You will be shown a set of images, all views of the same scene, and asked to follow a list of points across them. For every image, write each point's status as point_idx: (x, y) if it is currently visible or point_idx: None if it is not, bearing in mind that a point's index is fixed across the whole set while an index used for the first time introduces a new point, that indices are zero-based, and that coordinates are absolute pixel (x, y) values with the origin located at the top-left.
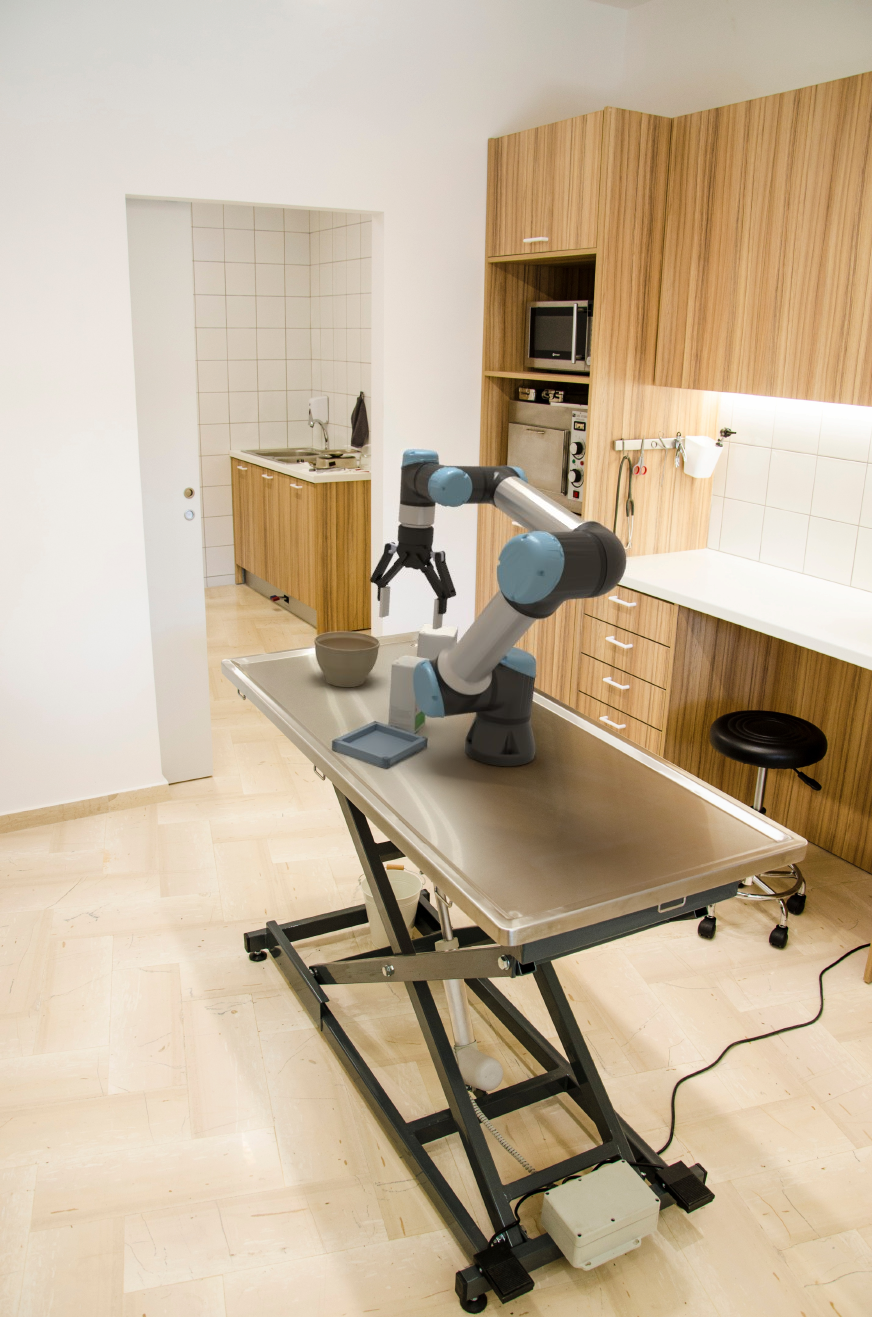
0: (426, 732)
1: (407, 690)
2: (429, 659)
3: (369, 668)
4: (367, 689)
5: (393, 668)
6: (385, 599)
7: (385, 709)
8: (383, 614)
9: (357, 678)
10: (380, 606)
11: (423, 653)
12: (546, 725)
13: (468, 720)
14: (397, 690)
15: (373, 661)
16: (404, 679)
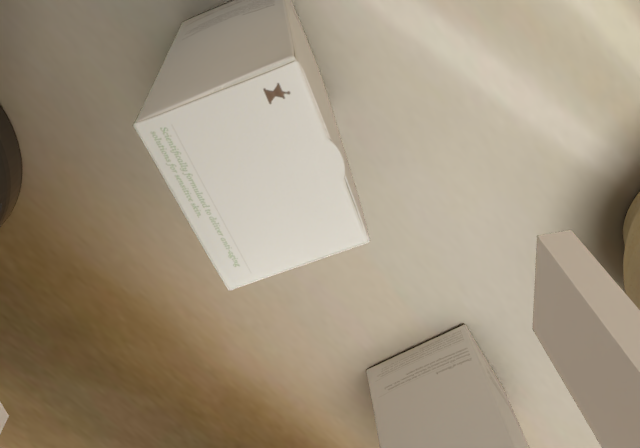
0: None
1: (196, 55)
2: (452, 425)
3: (625, 269)
4: (585, 219)
5: (281, 55)
6: (624, 404)
7: (426, 133)
8: (546, 270)
9: (637, 214)
10: (617, 298)
11: (480, 432)
12: (13, 400)
13: (173, 270)
14: (248, 32)
15: (630, 298)
16: (211, 64)
